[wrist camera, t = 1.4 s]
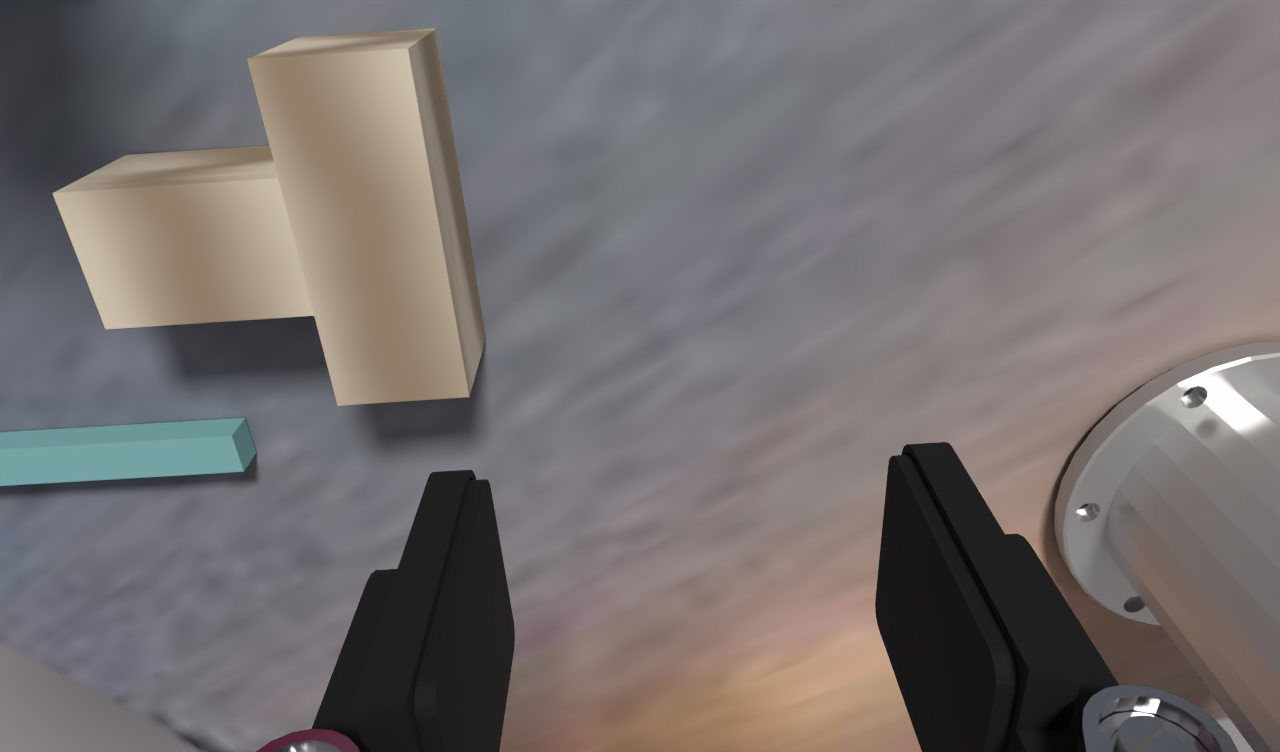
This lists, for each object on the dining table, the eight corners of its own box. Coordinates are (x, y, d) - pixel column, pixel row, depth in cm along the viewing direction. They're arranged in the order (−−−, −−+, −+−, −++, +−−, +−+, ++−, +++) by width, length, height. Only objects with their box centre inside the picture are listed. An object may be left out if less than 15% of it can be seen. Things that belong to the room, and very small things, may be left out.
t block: (436, 28, 25) (407, 48, 22) (486, 339, 30) (469, 397, 26) (91, 51, 25) (6, 75, 22) (195, 357, 30) (140, 418, 26)
